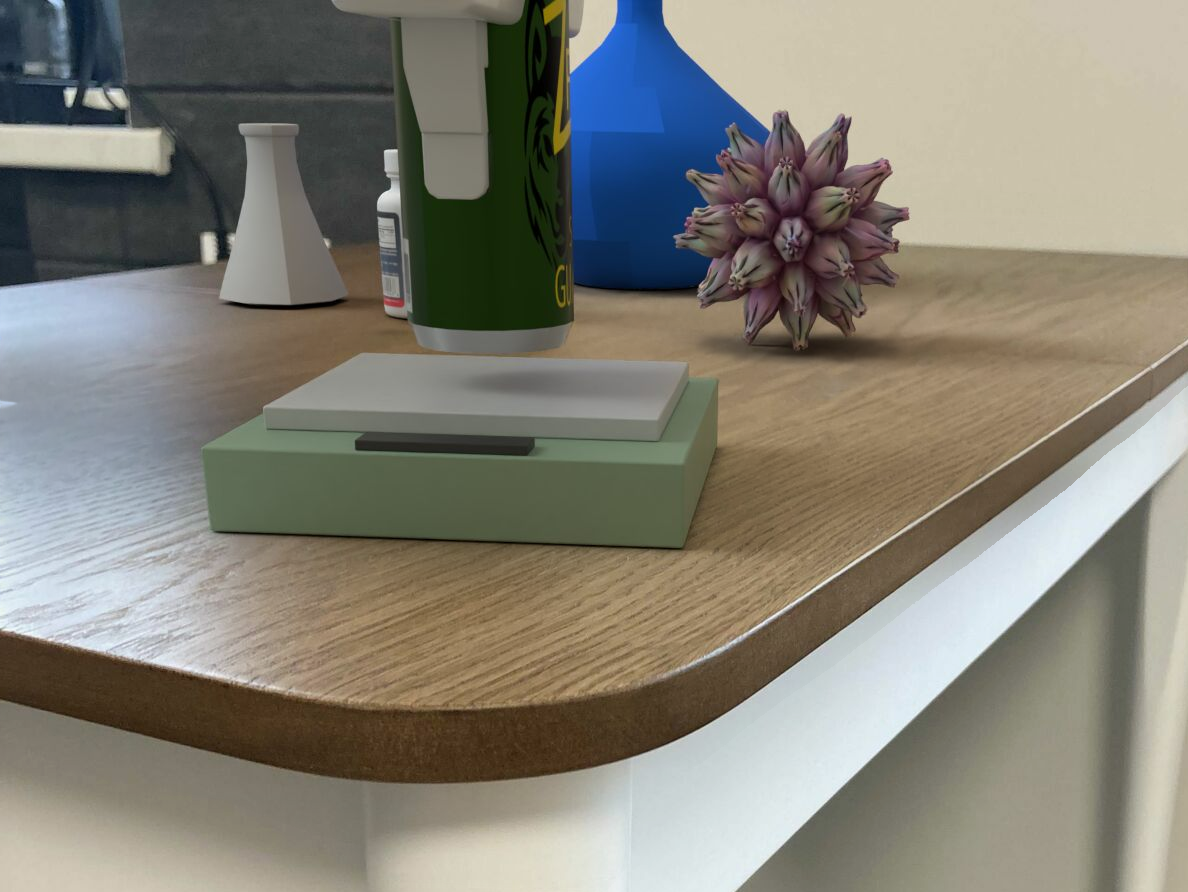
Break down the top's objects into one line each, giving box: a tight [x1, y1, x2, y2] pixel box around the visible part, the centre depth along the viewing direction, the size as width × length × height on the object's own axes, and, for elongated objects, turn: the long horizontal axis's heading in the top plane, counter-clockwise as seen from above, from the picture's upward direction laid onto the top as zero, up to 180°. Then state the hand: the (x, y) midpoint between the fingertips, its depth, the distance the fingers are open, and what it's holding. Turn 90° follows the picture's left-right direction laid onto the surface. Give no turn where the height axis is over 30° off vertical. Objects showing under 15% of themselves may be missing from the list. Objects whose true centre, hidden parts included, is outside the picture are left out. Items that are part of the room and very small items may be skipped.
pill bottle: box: [376, 148, 408, 320], centre depth 86 cm, size 5×5×9 cm
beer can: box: [389, 0, 575, 355], centre depth 47 cm, size 5×5×12 cm
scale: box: [200, 352, 719, 549], centre depth 50 cm, size 14×14×3 cm
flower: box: [674, 109, 911, 352], centre depth 77 cm, size 12×12×12 cm
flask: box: [218, 122, 349, 306], centre depth 90 cm, size 7×7×10 cm
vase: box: [570, 0, 771, 291], centre depth 101 cm, size 18×18×19 cm
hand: (484, 191), depth 47 cm, fingers closed on beer can, 5 cm apart
